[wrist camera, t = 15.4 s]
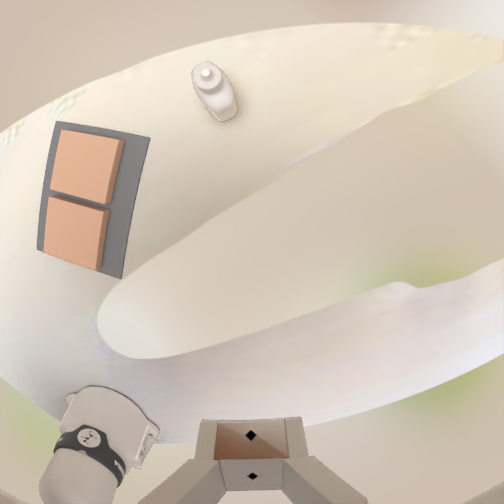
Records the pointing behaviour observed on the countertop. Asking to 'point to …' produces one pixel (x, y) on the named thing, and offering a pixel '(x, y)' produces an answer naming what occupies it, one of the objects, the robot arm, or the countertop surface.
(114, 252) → the mat
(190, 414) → the countertop surface
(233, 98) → the eye dropper bottle
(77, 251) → the tile
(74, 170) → the tile
